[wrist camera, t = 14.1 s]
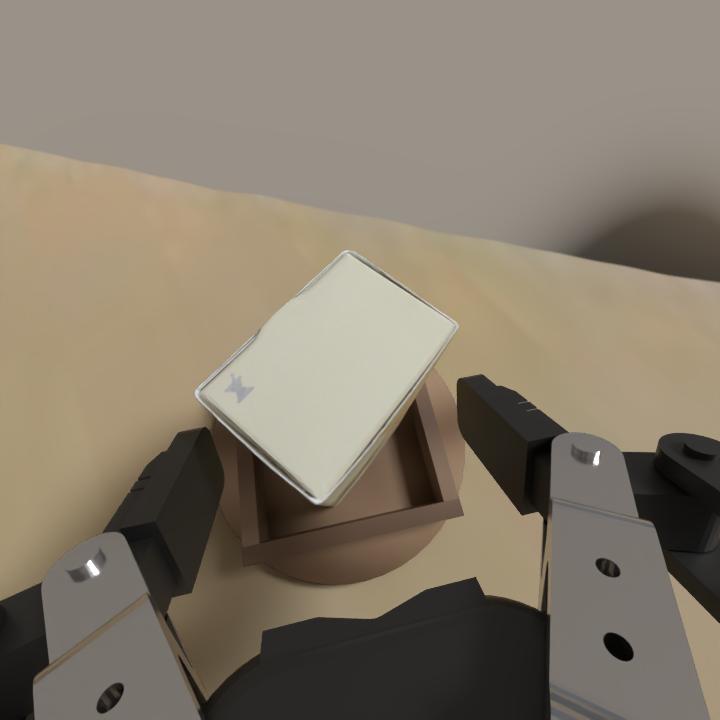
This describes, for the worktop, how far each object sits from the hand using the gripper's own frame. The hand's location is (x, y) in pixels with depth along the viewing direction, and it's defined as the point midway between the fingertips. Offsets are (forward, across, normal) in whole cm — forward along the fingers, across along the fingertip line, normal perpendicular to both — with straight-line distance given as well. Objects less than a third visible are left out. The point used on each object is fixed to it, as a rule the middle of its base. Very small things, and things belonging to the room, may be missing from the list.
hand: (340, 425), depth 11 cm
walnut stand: (+8, 0, +6) cm, 10 cm away
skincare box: (+8, 0, +6) cm, 10 cm away
